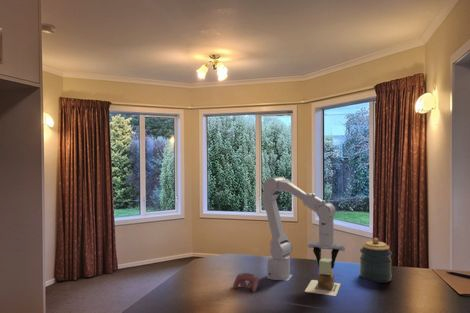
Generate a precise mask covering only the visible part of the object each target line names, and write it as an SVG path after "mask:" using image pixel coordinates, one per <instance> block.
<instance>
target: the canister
mask: <svg viewBox="0 0 470 313" xmlns="http://www.w3.org/2000/svg"><path fill="white" fill-rule="evenodd" d="M361 246H362V247H361V248H360V250H359V252H360V254H361V255H360V256H359V262H360V264H359V266H360V267H359V276H360V278H361V279H364V280H366V281H369V282H374V283H380V284H386V283H390V282H391V280H392V277H393V276H392V261H393V260H392V258H391V255H392V254H393V252H392V251H391V250H390V246H389V245H388V244H387V243H386V242H383V241H380V240H379V238H378V237H374V238H372V240H367V241H365V242H364V243H362V244H361Z"/></svg>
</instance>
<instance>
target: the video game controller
mask: <svg viewBox="0 0 470 313" xmlns="http://www.w3.org/2000/svg"><path fill="white" fill-rule="evenodd" d="M259 282H260V279H259V277H258V276H256V275H255V274H253V273H248V272H244V273H243V272H242V273H238V274H237V275H236V277H235V279H234V281H233V285H232V286H233V289H234V290H235V289H237V288H238V286H239V285H240V287H241V288H246V287H247V288H248V289H250V290H251V289H252V293H254V292H256V291H257V288H258V286H259V285H258V284H259Z"/></svg>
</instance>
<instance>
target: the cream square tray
mask: <svg viewBox="0 0 470 313" xmlns="http://www.w3.org/2000/svg"><path fill="white" fill-rule="evenodd" d="M340 287H341V283H339V282H334V287H333V289H332V290H327V289H320V288H318V279H311V280H310V282H309V283H308V285H307V287H306V288H305V290H304V292H306V293H313V294H318V295H319V294H320V295H326V296H332V297H333V296H334V297H337V294H338V292H339V289H340Z"/></svg>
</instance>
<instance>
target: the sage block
mask: <svg viewBox="0 0 470 313" xmlns="http://www.w3.org/2000/svg"><path fill="white" fill-rule="evenodd" d="M331 264H332V258H324V257H323V258H322V257H321V259H320V261H319V267H318V268H319V269H318V275H319V274H327V275H331V273H334V272H333V269H334V268H331Z"/></svg>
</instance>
